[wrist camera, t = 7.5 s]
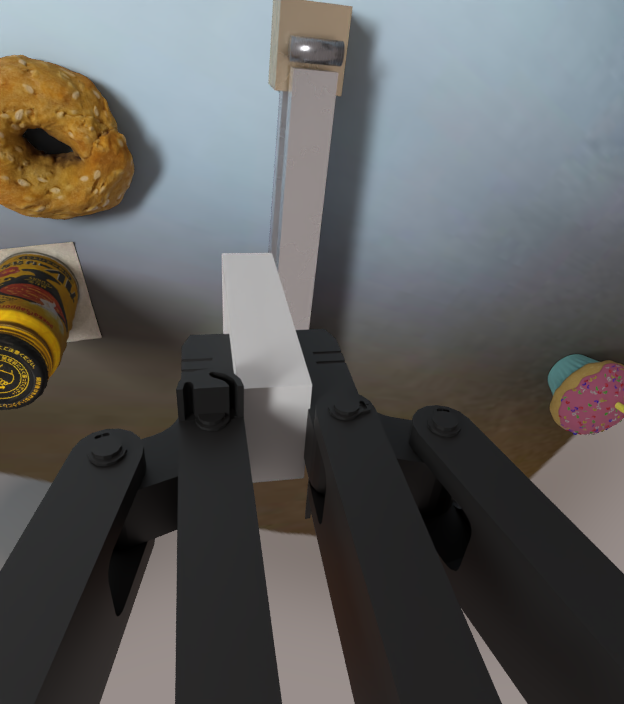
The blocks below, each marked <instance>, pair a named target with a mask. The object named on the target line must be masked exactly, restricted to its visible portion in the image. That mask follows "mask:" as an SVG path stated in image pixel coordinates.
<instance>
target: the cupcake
mask: <svg viewBox="0 0 624 704" xmlns="http://www.w3.org/2000/svg"><path fill="white" fill-rule="evenodd" d="M548 384H549V387H550V389H551V391H552V394H553V398H552V401H551V403H550V412H551V414H552V416H553V419H554V421H555V422H556V423H557V424H558V425H560V426H561V427H562V428H564V429H565V430H567V431H570V432H573V434H574V435H577V434H585V435H587V434H592V435H594V434H595V433H599V432H600V431H601V432H603V431H604V430H607V429H608V428H610V427H612V426H613V425H616V424H617V423H619V422H621V421H622V419H623V418H624V365H622V364H620V363H616V362H613V361H611V360H605V361H602V362H599V361H596V360H593V359H591V358H588V357H586V356H584V355H581V354H573V355H569V356H566V357H564V358H563V359H561V360H560V361H558V362H557V363H556V364H555V365H554V366H553V367H552V369H551V370H550V372H549V375H548Z"/></svg>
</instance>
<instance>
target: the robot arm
mask: <svg viewBox="0 0 624 704" xmlns="http://www.w3.org/2000/svg"><path fill="white" fill-rule="evenodd" d="M222 289H223V333H224V334H210V335H190V336H189V338H188V339H187V340H186V342H185V343H184V344H183V346H182V369H181V370H182V372H181V380H180V381H179V383H178V386H177V389H176V393H177V405H178V419H177V421H176V422H175V423H174V424H173V425H172V426H171V427H170V428H168V429H166V430H165V431H163V432H161V433H159V434H156V435H154V436H151V437H147V438H144V439H140V437H138V436H137V435H135V434H134V433H133V432H131V431H127V430H123V429H105V430H102V431H98V432H95V433H92V434H90V435H88V436H87V437H85V438H83V439H82V440H80V441H79V442H78V443H77V445H76V446H75V447H74V448H73V449H72V451H71V453H70V454H69V456H68V458H67V459H66V461H65V463H64V464H63V466H62V468H61V469H60V471H59V473H58V475H57V476H56V478H55V480H54V481H53V483H52V485H51V486H50V488H49V490H48V491H47V493H46V495H45V497H44V498H43V500H42V502H41V504H40V505H39V507H38V508H37V510H36V512H35V514H34V515H33V517H32V519H31V520H30V522H29V524H28V525H27V527H26V529H25V530H24V532H23V534H22V535H21V537H20V539H19V541H18V542H17V544H16V546H15V547H14V549H13V551H12V553H11V554H10V556H9V558H8V559H7V561H6V563H5V564H4V566H3V568H2V569H1V571H0V704H100V701H101V698H102V695H103V692H104V689H105V686H106V683H107V680H108V677H109V674H110V672H111V669H112V665H113V663H114V660H115V657H116V654H117V651H118V648H119V645H120V642H121V639H122V637H123V634H124V630H125V627H126V624H127V622H128V619H129V616H130V613H131V610H132V607H133V604H134V602H135V598H136V596H137V593H138V590H139V587H140V584H141V581H142V578H143V575H144V572H145V569H146V567H147V564H148V561H149V558H150V555H151V552H152V549H153V546H154V542H155V538H157V537H159V536H162V535H164V534H167V533H169V532H172V531H174V530H178V531H177V606H176V607H177V608H176V610H177V611H176V683H175V687H176V688H175V704H282V700H281V692H280V685H279V677H278V670H277V662H276V656H275V647H274V640H273V632H272V625H271V617H270V610H269V602H268V595H267V587H266V580H265V573H264V565H263V557H262V550H261V542H260V535H259V527H258V520H257V512H256V505H255V497H254V490H253V483H254V482H265V481H276V480H287V479H298V478H304V469H305V465H306V469H307V473H308V477H309V480H308V490H307V500H306V511H305V519H307V518H310V514H312V518H313V522H314V527H315V531H316V535H317V540H318V544H319V549H320V553H321V557H322V562H323V566H324V571H325V575H326V579H327V583H328V588H329V592H330V597H331V601H332V606H333V610H334V615H335V618H336V623H337V628H338V632H339V636H340V641H341V645H342V649H343V654H344V658H345V663H346V667H347V671H348V676H349V680H350V685H351V689H352V694H353V698H354V702H355V704H502V703H501V701H500V698H499V696H498V694H497V691H496V689H495V687H494V684H493V682H492V680H491V677H490V675H489V673H488V670H487V668H486V666H485V663H484V661H483V659H482V656H481V654H480V652H479V649H478V647H477V645H476V642H475V640H474V638H473V635H472V633H471V631H470V628H469V626H468V624H467V621H466V619H465V617H464V615H463V612H462V610H463V611H464V613H465V614H466V616H467V617H468V618H469V620H470V621H471V623H472V624H473V626H474V627H475V628H476V630H477V631H478V633H479V634H480V636H481V637H482V639H483V640H484V641H485V643H486V644H487V646H488V647H489V649H490V650H491V651H492V653H493V654H494V656H495V657H496V659H497V660H498V662H499V663H500V664H501V666H502V667H503V669H504V670H505V672H506V673H507V674H508V676H509V677H510V679H511V680H512V682H513V683H514V685H515V686H516V687H517V689H518V690H519V692H520V693H521V695H522V696H523V697H524V699H525V700H526V702H527V703H528V704H624V574H623V573H622V572H621V571H620V570H619V569H618V568H617V567H616V566H615V565H614V564H613V563H612V562H611V561H610V560H609V559H608V558H607V557H606V556H605V555H604V554H603V553H602V552H601V551H600V550H599V549H598V548H597V547H596V546H595V545H594V544H593V543H592V542H591V541H590V540H589V539H588V538H587V537H586V536H585V535H584V534H583V533H582V532H581V531H580V530H579V529H578V528H577V527H576V526H575V525H574V524H573V523H572V522H571V521H570V520H569V519H568V518H567V517H566V516H565V515H564V514H563V513H562V512H561V511H560V510H559V509H558V508H557V507H556V506H555V505H554V504H553V503H552V502H551V501H550V500H549V499H548V498H547V497H546V496H545V495H544V494H543V493H542V492H541V491H540V490H539V489H538V488H537V487H536V486H535V485H534V484H533V483H532V482H531V481H530V480H529V479H528V478H527V477H526V476H525V475H524V474H523V473H522V472H521V471H520V470H519V469H518V468H517V467H516V466H515V465H514V464H513V463H512V462H511V461H510V459H509V458H508V457H507V456H506V455H505V454H504V453H503V452H502V451H501V450H500V449H499V448H498V447H497V446H496V445H495V444H494V443H493V442H492V441H491V440H490V439H489V438H488V437H487V436H486V435H485V434H484V433H483V432H482V431H481V430H480V429H479V428H478V427H477V426H476V425H475V424H474V423H473V422H472V421H471V420H470V419H469V418H467V417H466V416H465V415H463V414H462V413H461V412H459V411H457V410H454V409H452V408H449V407H444V406H438V405H435V406H426V407H423V408H421V409H419V410H417V412H416V413H415V414H414V416H413V419H412V420H406V419H400V418H394V417H389V416H385V415H382V414H380V413H377V412H376V409H375V407H374V406H373V405H372V403H371V402H370V401H369V400H367V399H366V398H364V397H363V396H361V395H359V394H358V392H357V389H356V387H355V384H354V382H353V379H352V377H351V374H350V372H349V369H348V367H347V365H346V363H345V360H344V357H343V355H342V353H341V350H340V347H339V345H338V343H337V340H336V339H335V338H334V337H333V336H332V335H331V334H330V333H328V332H327V331H326V330H325V329H308V330H295V327H294V324H293V320H292V317H291V314H290V310H289V307H288V304H287V301H286V297H285V294H284V291H283V288H282V284H281V281H280V278H279V274H278V271H277V268H276V265H275V261H274V258H273V255H272V253H222ZM461 608H462V610H461Z"/></svg>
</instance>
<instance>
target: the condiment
mask: <svg viewBox="0 0 624 704" xmlns="http://www.w3.org/2000/svg"><path fill="white" fill-rule="evenodd" d="M96 338H102V337H101V333H100V330H99V327H98V323H97V320H96V317H95V314H94V310H93V307H92V304H91V300H90V297H89V293H88V290H87V286H86V283H85V280H84V276H83V273H82V270H81V266H80V263H79V260H78V257H77V253H76V250H75V247H74V244H73V242H66V243H58V244H46V245H36V246H27V247H19V248H11V249H1V250H0V410H9V409H17V408H20V407H24V406H26V405H29V404H31V403H32V402H34V401H35V400H36V399H37V398H38V397H39V396H41V395H42V394H43V392H44V389H45V388H46V386H47V382H48V379H49V377H50V376H51V375H52V374H53V373H54V372H55V370H56V369H57V367H58V366H59V365H60V362H61V357H62V355H63V352H64V350H65V348H66V346H67V342H72V341H79V340H85V339H96Z"/></svg>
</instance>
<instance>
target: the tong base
mask: <svg viewBox="0 0 624 704" xmlns="http://www.w3.org/2000/svg"><path fill="white" fill-rule="evenodd" d="M351 14H352V7H351V6H344V5H337V4H329V3H322V2H314V1H306V0H273V14H272V31H271V48H270V65H269V82H268V83H269V84H270V86H271V87H272V88H273V89H274V90H277V91H279V106H278V120H277V134H276V149H275V163H274V177H273V192H272V206H271V220H270V235H269V249H268V253H272V255H273V258H274V261H275V265H276V254H277V240H278V227H279V213H280V199H281V186H282V172H283V159H284V145H285V132H286V118H287V105H288V91H289V78H290V66H292V67H302V68H312V69H322V70H332V71H336V72H338V82H337V90H336V96H341V94H342V86H343V78H344V70H345V62H346V54H347V46H348V38H349V30H350V22H351ZM290 35H295V36H304V37H313V38H322V39H331V40H340V41H344V45H345V52H344V59H343V63H342V66H341V67H338V66H328V65H319V64H309V63H299V62H289V60H288V44H289V38H290Z"/></svg>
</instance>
